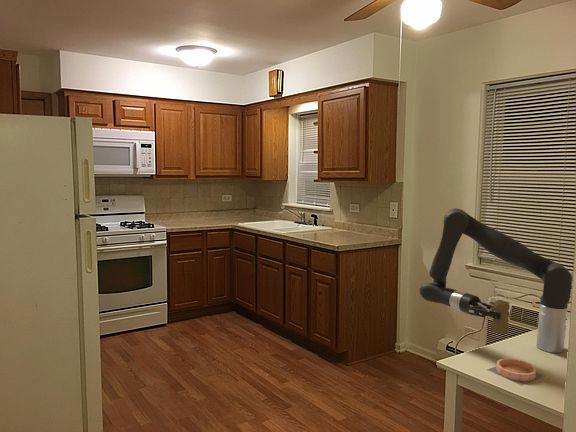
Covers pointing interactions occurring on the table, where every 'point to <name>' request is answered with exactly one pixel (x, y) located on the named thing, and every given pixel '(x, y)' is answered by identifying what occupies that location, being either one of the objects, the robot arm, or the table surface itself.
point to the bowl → (516, 369)
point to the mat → (515, 380)
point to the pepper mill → (501, 324)
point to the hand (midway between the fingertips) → (504, 315)
